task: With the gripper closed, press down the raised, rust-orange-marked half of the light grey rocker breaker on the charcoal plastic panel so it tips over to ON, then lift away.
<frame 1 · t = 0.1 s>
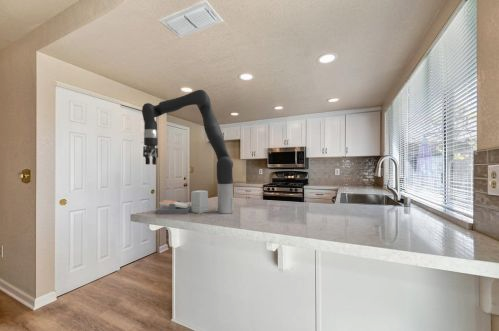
hand: (151, 164, 131), 29 cm above the countertop, fingers open, 8 cm apart
breaker rocker: (175, 203, 133), point 5 cm above the countertop, hinge at -9.0°
breaker panel: (175, 211, 133), on the countertop
supplement box: (199, 212, 132), on the countertop
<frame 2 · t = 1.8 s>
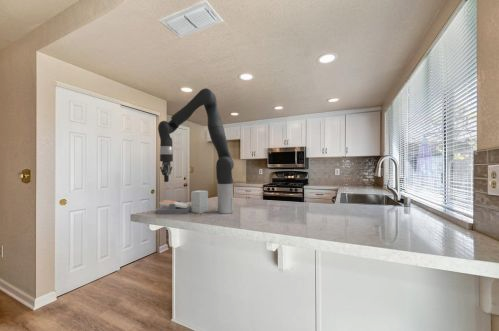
hand: (166, 181, 135), 18 cm above the countertop, fingers closed
nothing on the countertop moved.
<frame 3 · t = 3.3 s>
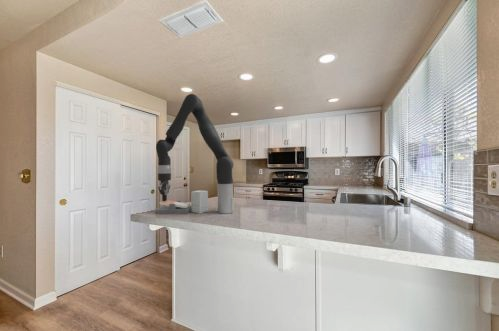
hand: (164, 200, 133), 7 cm above the countertop, fingers closed
breaker rocker: (175, 203, 133), point 5 cm above the countertop, hinge at -9.0°, touching gripper
everything else where it was.
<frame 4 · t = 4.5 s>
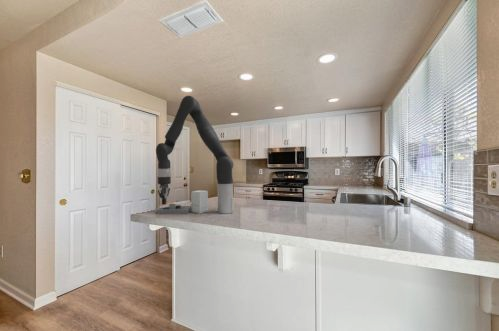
hand: (164, 204, 133), 5 cm above the countertop, fingers closed
breaker rocker: (175, 203, 133), point 5 cm above the countertop, hinge at 8.1°, touching gripper
everything else where it was.
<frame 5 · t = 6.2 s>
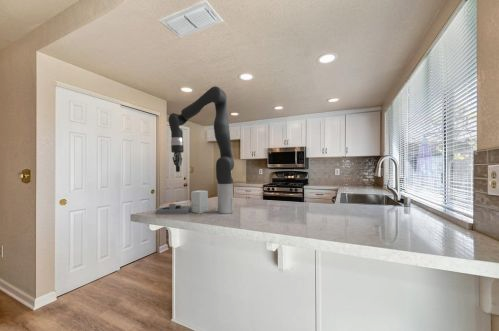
hand: (177, 171, 140), 24 cm above the countertop, fingers closed
breaker rocker: (175, 203, 133), point 5 cm above the countertop, hinge at 8.4°
everything else where it was.
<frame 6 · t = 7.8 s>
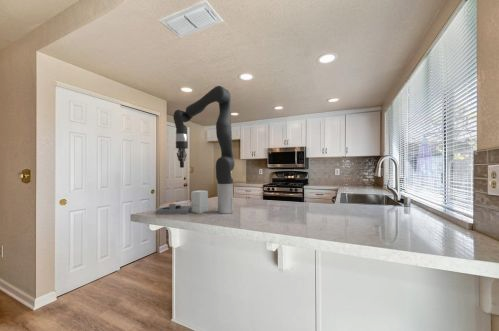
hand: (181, 167, 143), 27 cm above the countertop, fingers closed
nothing on the countertop moved.
at the end: breaker rocker at +8° (first picture: -9°); supplement box moved 0.2 cm from its start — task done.
